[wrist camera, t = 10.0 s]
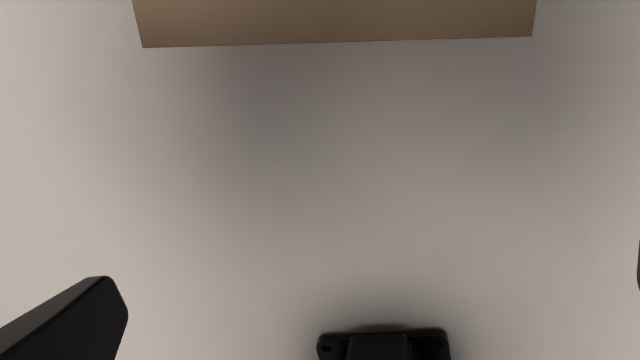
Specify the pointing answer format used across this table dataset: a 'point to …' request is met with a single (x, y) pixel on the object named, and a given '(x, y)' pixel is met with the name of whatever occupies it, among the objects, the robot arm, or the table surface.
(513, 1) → the walnut block
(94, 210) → the table surface
